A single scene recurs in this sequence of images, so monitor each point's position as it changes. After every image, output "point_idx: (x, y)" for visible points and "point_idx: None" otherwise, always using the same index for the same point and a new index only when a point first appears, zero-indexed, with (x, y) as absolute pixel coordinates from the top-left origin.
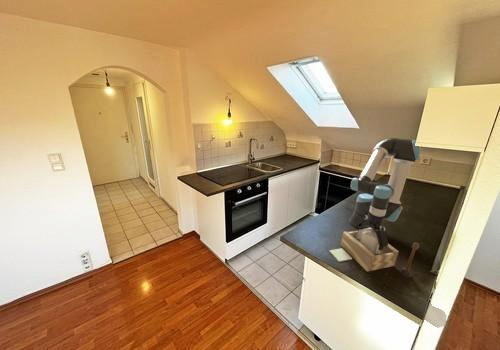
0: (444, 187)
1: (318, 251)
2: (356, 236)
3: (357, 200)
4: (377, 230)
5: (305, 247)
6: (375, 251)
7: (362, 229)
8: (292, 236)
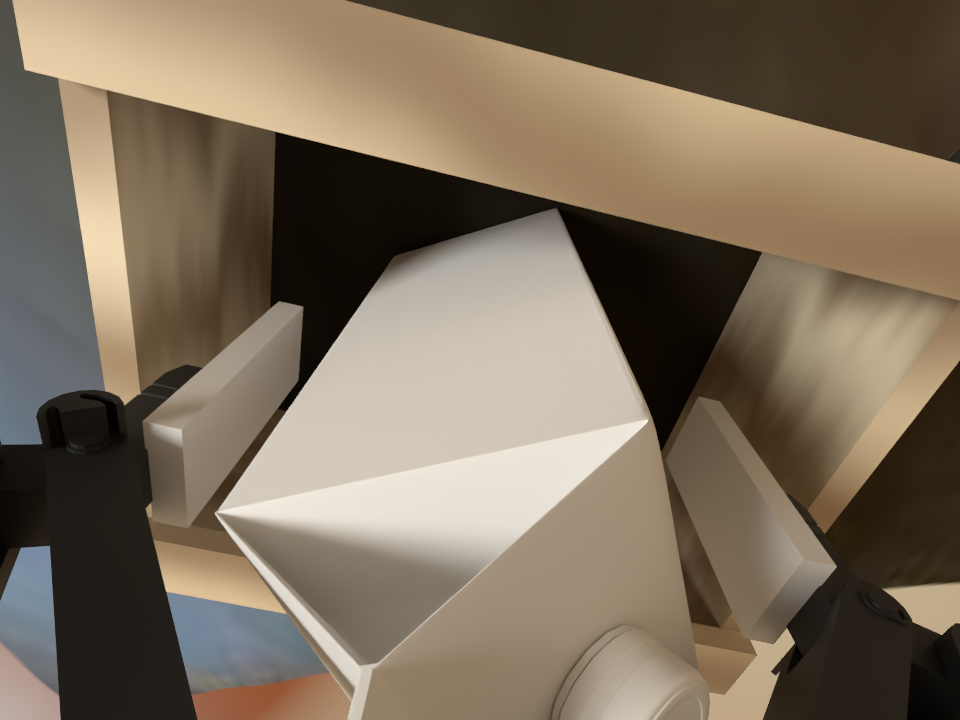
0: None
1: (279, 627)
2: (202, 279)
3: None
4: (550, 517)
5: (208, 664)
6: (677, 487)
7: (173, 463)
8: (47, 660)
